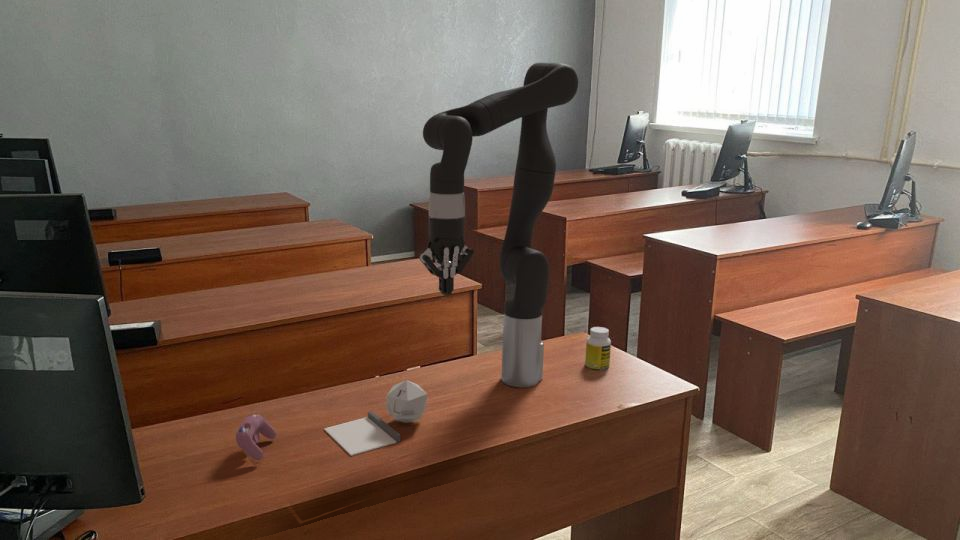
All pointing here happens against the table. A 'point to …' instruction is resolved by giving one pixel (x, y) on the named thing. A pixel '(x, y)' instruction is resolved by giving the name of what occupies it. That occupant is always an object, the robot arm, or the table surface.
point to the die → (406, 401)
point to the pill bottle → (598, 349)
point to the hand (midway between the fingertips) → (446, 293)
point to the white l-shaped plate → (363, 434)
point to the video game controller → (253, 435)
